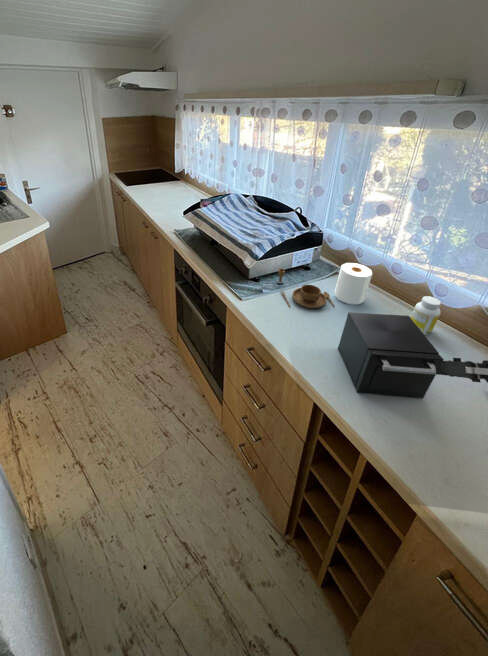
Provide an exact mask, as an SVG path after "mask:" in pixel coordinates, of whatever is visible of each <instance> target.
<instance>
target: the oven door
mask: <svg viewBox="0 0 488 656" xmlns="http://www.w3.org/2000/svg"><path fill="white" fill-rule="evenodd" d="M434 360H440V361H445V360H444V358H443V357H442V356H441V354H439V355H438V354H424V353H410V352H396V351H382V350H368V353H367V356H366V358H365V361H364V364H363V367H362V370H361V372H360V375H359V378H358V381H357V383H356V386H355V387H354V389H355V391H356V393H357V394H367V395H378V396H387V397H389V396H390V397H400V398H401V397H402V398H413V399H421V400H422V399H424V398H425V396H426V394H427V392H428V390H429V389H430V386H431V385H432V383H433V381H434V379H435V377H436V375H437V376H439V375H438V374H436V368H435V361H434Z"/></svg>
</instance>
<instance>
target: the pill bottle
mask: <svg viewBox="0 0 488 656" xmlns="http://www.w3.org/2000/svg"><path fill="white" fill-rule="evenodd" d="M441 304H442V302H441V300H439V299H438V298H436V297H433V296H430V295H426V296H425V295H424V296H423V297H422V298H421V300H420V302H417V303H416V305H415V306H414V308H413V311H412V313H411V315H410V318H411V319H412V320H413V322H414V323H415V324H416V325H417V327H418V328H419V329H420V330H421V332H422V333H423V334H424V335H425V336H428V335H431V334H432V333H433V331H434V328H435V326H436V324H437V322H438V321H439V318H440V315H441V312H442V311H441V309H440V307H441Z"/></svg>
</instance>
